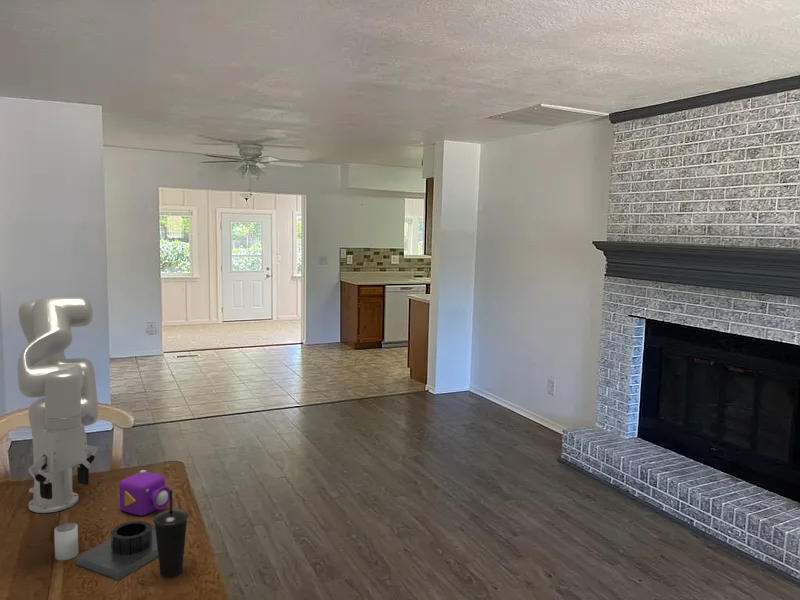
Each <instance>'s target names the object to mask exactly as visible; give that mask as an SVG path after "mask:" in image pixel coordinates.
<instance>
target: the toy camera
mask: <svg viewBox="0 0 800 600" xmlns="http://www.w3.org/2000/svg"><path fill="white" fill-rule="evenodd" d="M170 490H171V489H170V487H169V486H166V478H165V476H163V475H162V474H159V473H154V472H150V471H147V470H145V469H142V470H140V471H139V472H137V473H135V474H132V475H129V476H128V477H126V478H123V479H122V480H120V482H119V508H120V510H121V511H123V512H125V513H130V514H132V515H136V516H141V517H144V516H146V515H148V514H150V513H152V512H154V511H156V510H160V511H161V510H163V509H165V508H166V506H167V505H168V504H169V491H170Z"/></svg>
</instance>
